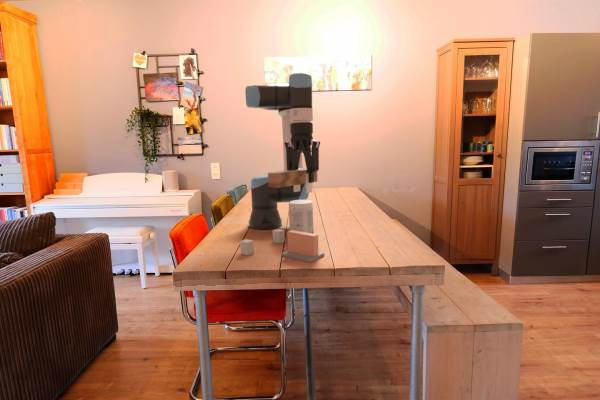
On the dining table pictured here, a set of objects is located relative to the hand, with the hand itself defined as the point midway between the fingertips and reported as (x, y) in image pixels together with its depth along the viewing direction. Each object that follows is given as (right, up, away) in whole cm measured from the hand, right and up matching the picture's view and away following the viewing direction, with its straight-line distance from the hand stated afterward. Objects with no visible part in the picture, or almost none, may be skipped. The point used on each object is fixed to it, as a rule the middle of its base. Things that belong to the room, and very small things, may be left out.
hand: (303, 191), depth 123 cm
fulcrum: (0, -22, -1) cm, 22 cm away
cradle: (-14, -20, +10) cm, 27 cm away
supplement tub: (0, -18, +22) cm, 28 cm away
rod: (-3, +2, -4) cm, 6 cm away
